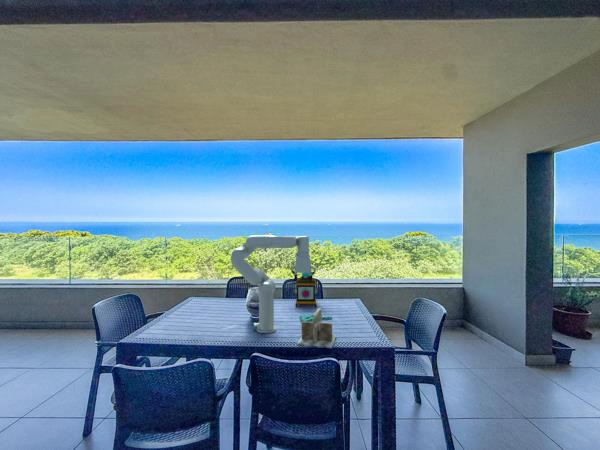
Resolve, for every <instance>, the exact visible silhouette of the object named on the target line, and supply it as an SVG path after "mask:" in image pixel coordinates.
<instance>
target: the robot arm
mask: <svg viewBox="0 0 600 450" xmlns="http://www.w3.org/2000/svg"><path fill="white" fill-rule="evenodd" d="M294 247H295V248H297V252H295V256H296V257H295V265H294V266H291V267H290V268H289V269H290V272H291V273H292V274H293V276H294V277H293V278H294V281H295V282H296V281H297V279H298V273H301V274H302V273H309V274H310V282H311V281H312V278H313V275H314V274H315V273H316V271H317V270H318V269H317V268H316V267H314V266H313V265H312V260H311V257H310V238H309V236H308V235H299V236H298V235H287V236H284V235H283V236H282V235H281V236H280V235H279V236H278V235H277V236H275V235H271V234H269V235H266V234H265V235H261V234H260V235H257V234H256V235H255V234H253V235H249V236H248V237H247V238H246V239H245V242H244V243H243V244H241V246H240V247H237V248H235V249H233V251H232V252H231V253H230V254H231V255H230V264H231V265H232V267H233V268H234V269H235V270H236V272H237V273H239V275H241V277H243V278H244V279H245V280H246V281H247V282H248V283H249V284H250V285H252V286H258V292H257V293H258V295H257V296H258V312H259V313H258V322H253V327H255V328H256V332H257V333H261V334H271V333H274V332H276V331H277V327H276V326H275V325H274V324H275V323H274V322H275V320H274V319H275V318H274V316H275V314H274V313H275V309H274V304H275V303H274V301H275V300H274V292H275V290H276V284H275V282H274V280H273V279H272V278H270V276H268V275H267V273H265V272H264V271H263V270H261V269H258V268H254V267H253V266H251V264H249V263H248V262H247V261H246V260H245V259H247V258H249V256H251V255H252V254H253V252H255V251H256V250H257V249H292V248H294ZM312 270H313V271H312Z"/></svg>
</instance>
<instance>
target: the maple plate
mask: <svg viewBox="0 0 600 450" xmlns="http://www.w3.org/2000/svg"><path fill="white" fill-rule="evenodd" d="M313 314H314V315H313V343H317V333H318V331H320V323H322V320H321V315H322V308H321V307H320V308H317V309H316V311H314V313H313Z"/></svg>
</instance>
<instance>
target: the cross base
mask: <svg viewBox="0 0 600 450" xmlns="http://www.w3.org/2000/svg"><path fill="white" fill-rule="evenodd" d="M335 338H336V339H337V335H335V334H333V323H332V322H321V323H320V331H318V333H317V343H313V322H312V321H311V322H306V321H302V322H301V336H300V338H299V339H298V341H297V343H296V345H297V346H301V345H304V346H303V347H312V346H318V347H317V348H324V347H326V348H327V349H333V347H332V346H334V345H335V341H336V339H335Z"/></svg>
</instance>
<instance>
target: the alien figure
mask: <svg viewBox="0 0 600 450" xmlns="http://www.w3.org/2000/svg"><path fill="white" fill-rule="evenodd" d="M313 315H314V313H312V314H311V313H308V314H306V313H304V314H301V315H299V317H298V318H299V321H300V323H302V321H306V322H313ZM323 320H324V321H328V320H329V321H331V320H333V316H323V314H321V321H323Z"/></svg>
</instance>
